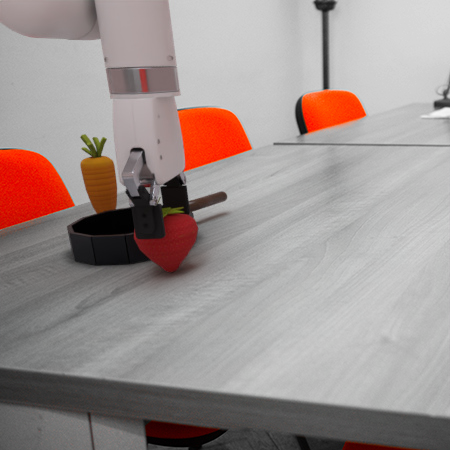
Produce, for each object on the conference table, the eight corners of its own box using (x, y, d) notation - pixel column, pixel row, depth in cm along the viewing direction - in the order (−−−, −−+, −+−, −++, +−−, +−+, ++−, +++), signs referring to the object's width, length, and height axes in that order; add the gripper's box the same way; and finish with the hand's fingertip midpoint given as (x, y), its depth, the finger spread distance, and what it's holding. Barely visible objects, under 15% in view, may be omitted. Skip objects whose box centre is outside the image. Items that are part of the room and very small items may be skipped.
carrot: (131, 223, 95) (115, 132, 91) (103, 231, 91) (85, 136, 87) (112, 219, 98) (97, 131, 93) (84, 227, 94) (67, 135, 89)
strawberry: (209, 272, 72) (199, 195, 69) (145, 286, 68) (132, 205, 65) (196, 259, 77) (186, 186, 74) (136, 272, 73) (123, 195, 70)
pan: (127, 271, 73) (121, 241, 72) (47, 255, 80) (41, 227, 79) (264, 217, 96) (262, 194, 95) (193, 209, 103) (190, 186, 102)
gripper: (139, 81, 74) (158, 209, 79) (74, 89, 57) (103, 250, 62) (198, 80, 74) (213, 207, 79) (151, 86, 58) (174, 247, 63)
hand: (165, 226), depth 71 cm, fingers open, 9 cm apart
